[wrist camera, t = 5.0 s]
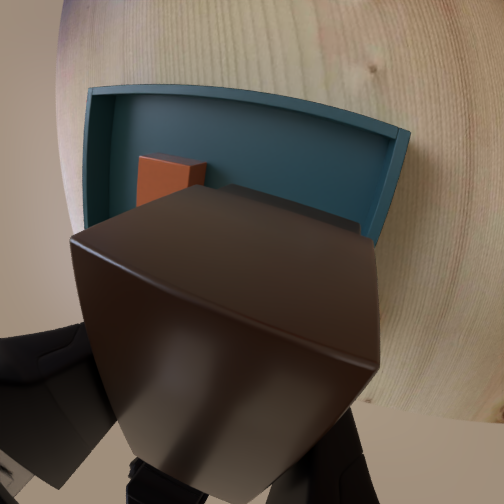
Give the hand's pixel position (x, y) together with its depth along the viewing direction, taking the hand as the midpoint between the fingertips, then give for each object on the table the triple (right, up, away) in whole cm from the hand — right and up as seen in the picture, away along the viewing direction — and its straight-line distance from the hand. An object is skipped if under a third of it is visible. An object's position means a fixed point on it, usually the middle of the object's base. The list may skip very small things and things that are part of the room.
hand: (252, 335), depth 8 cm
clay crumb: (-5, +7, +10) cm, 13 cm away
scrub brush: (0, 0, +1) cm, 1 cm away
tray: (-2, +6, +10) cm, 12 cm away
